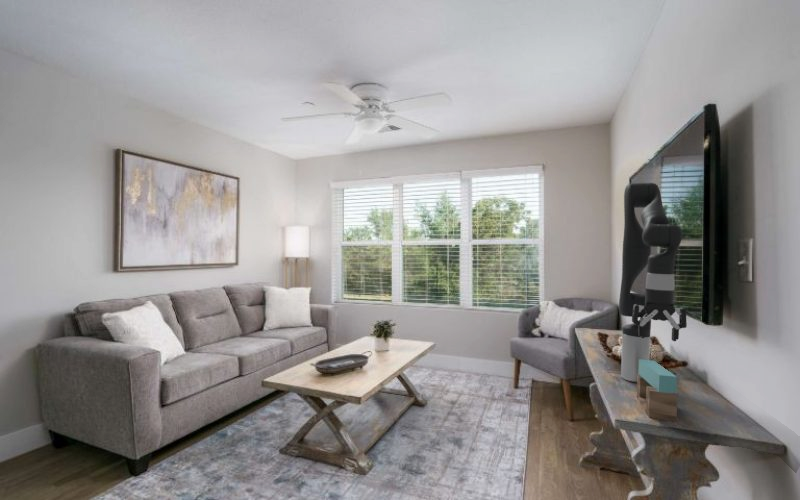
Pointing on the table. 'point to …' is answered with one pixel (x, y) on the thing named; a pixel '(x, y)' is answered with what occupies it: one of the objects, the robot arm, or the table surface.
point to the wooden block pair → (656, 401)
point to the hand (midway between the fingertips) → (657, 339)
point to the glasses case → (658, 376)
